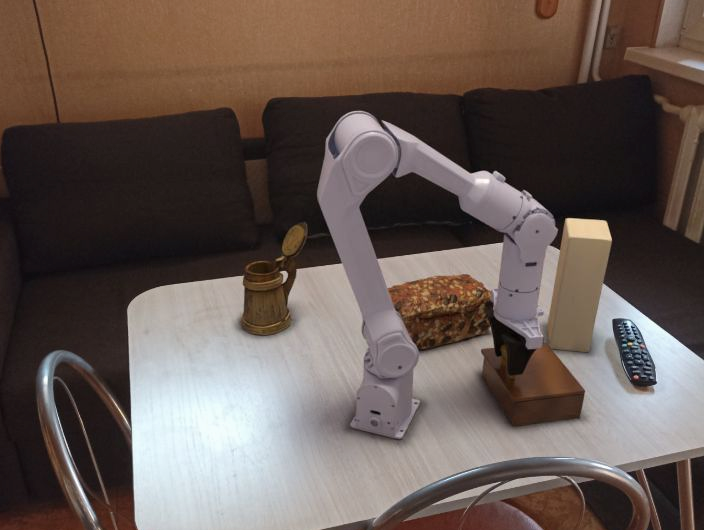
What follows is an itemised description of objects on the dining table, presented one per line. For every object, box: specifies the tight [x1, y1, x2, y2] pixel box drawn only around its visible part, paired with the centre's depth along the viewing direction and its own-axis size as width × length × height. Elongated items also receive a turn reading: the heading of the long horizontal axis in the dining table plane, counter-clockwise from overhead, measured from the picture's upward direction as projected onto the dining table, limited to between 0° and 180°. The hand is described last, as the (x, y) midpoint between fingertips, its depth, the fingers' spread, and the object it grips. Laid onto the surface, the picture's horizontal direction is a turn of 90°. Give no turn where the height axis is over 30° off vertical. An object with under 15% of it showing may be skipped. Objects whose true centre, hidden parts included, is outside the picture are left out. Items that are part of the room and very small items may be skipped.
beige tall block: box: [546, 217, 613, 353], centre depth 117 cm, size 8×7×21 cm
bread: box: [387, 273, 494, 350], centre depth 122 cm, size 19×11×10 cm, turn 113°
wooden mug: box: [241, 221, 308, 336], centre depth 125 cm, size 9×14×18 cm, turn 118°
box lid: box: [480, 342, 586, 402], centre depth 105 cm, size 11×13×4 cm
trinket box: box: [481, 357, 586, 427], centre depth 107 cm, size 10×13×4 cm
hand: (508, 364), depth 105 cm, fingers closed on box lid, 4 cm apart
